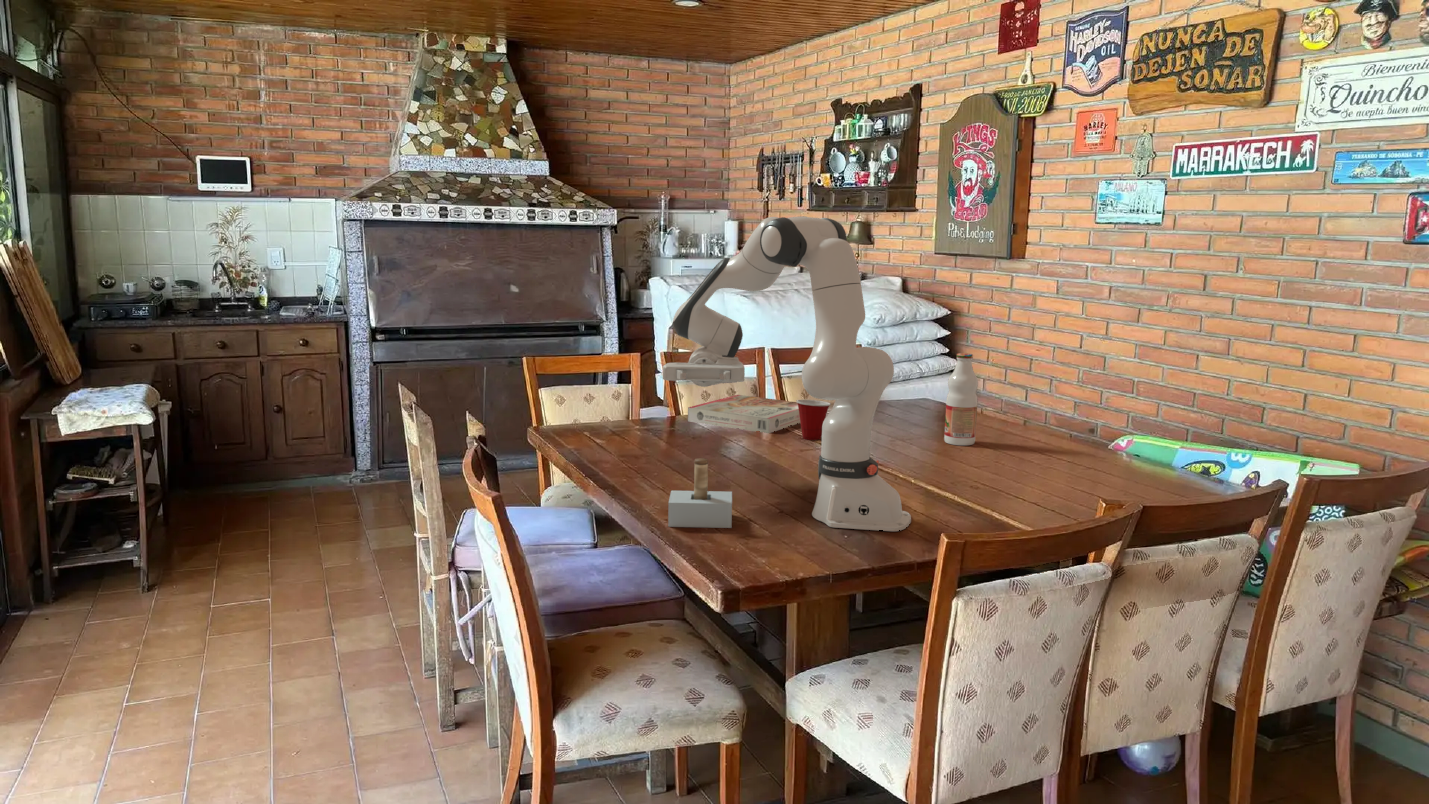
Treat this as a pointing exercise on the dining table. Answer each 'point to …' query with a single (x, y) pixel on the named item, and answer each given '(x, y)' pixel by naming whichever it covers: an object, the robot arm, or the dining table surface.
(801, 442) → the dining table surface
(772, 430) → the pizza box
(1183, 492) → the dining table surface
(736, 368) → the robot arm
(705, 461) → the dowel pin
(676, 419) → the dining table surface
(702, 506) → the socket block
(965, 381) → the fruit juice
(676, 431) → the dining table surface
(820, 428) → the plastic cup
